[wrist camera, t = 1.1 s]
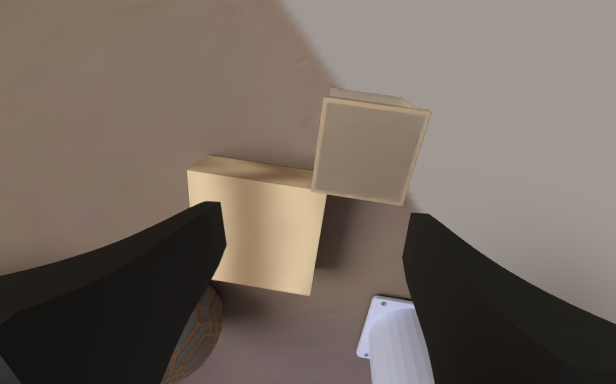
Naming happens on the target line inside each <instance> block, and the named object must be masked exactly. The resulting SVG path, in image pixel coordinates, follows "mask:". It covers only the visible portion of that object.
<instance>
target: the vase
mask: <svg viewBox="0 0 616 384" xmlns="http://www.w3.org/2000/svg"><path fill="white" fill-rule="evenodd" d="M222 325H223V305H222V302H221V300H220V297H219V296H218V294H217V293H216V291H215V290H214V289H213V288H212V287H211V286H210V285H208V286H207V288H206V290H205V291H204V293H203V295H202V297H201V298H200V300H199V302H198V304H197V305H196V307H195V309H194V311H193V312H192V314H191V316H190V318H189V320H188V322H187V323H186V325H185V327H184V330H183V332H182V334H181V336H180V339H179V341H178V343H177V345H176V348H175V350H174V352H173V354H172V357H171V359H170V362H169V364H168V366H167V369H166V371H165V374H164V376H163V379H162V381H161V383H160V384H176V383H178V382H179V381H181V380H183V379H184V378H186V377H188V376H189V375H191V374H192V373H193V372H195V371H196V370H197V369H198V368H199V367H200V366H201V365H202V364H203V363H204V362H205V361H206V359H207V358H208V357H209V355H210V354H211V352H212V351H213V349H214V347H215V345H216V343H217V341H218V338H219V336H220V333H221V330H222Z"/></svg>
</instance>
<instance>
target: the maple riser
mask: <svg viewBox="0 0 616 384" xmlns="http://www.w3.org/2000/svg"><path fill="white" fill-rule="evenodd" d="M187 175H188V188H189V201H190V207H192V206H194V205H197V204H199V203H201V202H204V201H216V202H221V208H222V215H223V222H224V229H225V235H226V242H227V246H226V249H225V251H224V254H223V257H222V259H221V262H220V264H219V266H218V268H217V270H216V272H215V274H214V276H213V277H212V280H218V281H224V282H230V283H236V284H242V285H248V286H254V287H260V288H266V289H272V290H277V291H283V292H289V293H295V294H301V295H307V296H310V292H311V286H312V280H313V274H314V268H315V262H316V256H317V250H318V244H319V238H320V232H321V226H322V220H323V214H324V208H325V202H326V196H327V194H321V193H315V192H311V185H312V178H313V171H310V170H304V169H297V168H290V167H284V166H277V165H271V164H264V163H257V162H251V161H244V160H238V159H231V158H224V157H218V156H211V155H206V156H205V157H203V158H202V159H201V160H200V161H198V162H197V163H196V164H194V165H193V166H192V167H191V168H189V169H188V170H187Z"/></svg>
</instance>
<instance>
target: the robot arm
mask: <svg viewBox="0 0 616 384" xmlns="http://www.w3.org/2000/svg"><path fill="white" fill-rule="evenodd" d="M226 246H227V242H226V235H225V229H224V222H223V215H222V208H221V202H216V201H204V202H201V203H199V204H197V205H194V206H192V207H190V208H188V209H186V210H184V211H182V212H180V213H178V214H176V215H174V216H172V217H170V218H168V219H166V220H164V221H162V222H160V223H158V224H156V225H154V226H152V227H150V228H147V229H145V230H143V231H141V232H139V233H137V234H134V235H132V236H130V237H128V238H125V239H123V240H120V241H118V242H115V243H113V244H110V245H107V246H105V247H102V248H99V249H96V250H93V251H90V252H87V253H84V254H81V255H78V256H74V257H71V258H68V259H65V260H62V261H59V262H55V263H51V264H48V265H44V266H40V267H36V268H33V269H28V270H24V271H20V272H16V273H12V274H7V275H3V276H0V384H160V383H161V381H162V379H163V376H164V374H165V371H166V369H167V366H168V364H169V362H170V359H171V357H172V354H173V352H174V350H175V348H176V345H177V343H178V341H179V339H180V336H181V334H182V332H183V330H184V327H185V325H186V323H187V322H188V320H189V318H190V316H191V314H192V312H193V311H194V309H195V307H196V305H197V304H198V302H199V300H200V298H201V297H202V295H203V293H204V291H205V290H206V288H207V286H208V284H209V283H210V281H211V279H212V277H213V276H214V274H215V272H216V270H217V268H218V266H219V264H220V262H221V259H222V257H223V254H224V251H225V249H226ZM402 258H403V265H404V271H405V277H406V282H407V285H408V288H409V292H410V295H411V298H412V301H407V300H401V299H395V298H390V297H384V296H375V297H373V299H372V302H371V305H370V308H369V311H368V315H367V318H366V321H365V325H364V328H363V331H362V334H361V338H360V341H359V344H358V347H357V355H358V356H359V357H363V358H369V359H370V365H371V376H372V384H616V324H614V323H612V322H609V321H607V320H605V319H602V318H600V317H597V316H595V315H593V314H591V313H589V312H587V311H584V310H582V309H580V308H578V307H576V306H573V305H571V304H569V303H567V302H565V301H563V300H561V299H559V298H557V297H555V296H553V295H551V294H549V293H547V292H545V291H543V290H541V289H540V288H538V287H536V286H534V285H532V284H530V283H529V282H527V281H525V280H523V279H522V278H520V277H518V276H516V275H515V274H513V273H511V272H510V271H508V270H506V269H505V268H503V267H501V266H500V265H498V264H497V263H495V262H494V261H492V260H491V259H489V258H488V257H486V256H485V255H483V254H482V253H480V252H479V251H477V250H476V249H475V248H473V247H472V246H471V245H469V244H468V243H466V242H465V241H464V240H462V239H461V238H460V237H458V236H457V235H456V234H455V233H453V232H452V231H451V230H449V229H448V228H447V227H446V226H444V225H443V224H442V223H440V222H439V221H438V220H436V219H435V218H434V217H432V216H431V215H429V214H423V213H411V215H410V220H409V225H408V231H407V236H406V241H405V246H404V251H403V257H402ZM383 302H385V303H383Z"/></svg>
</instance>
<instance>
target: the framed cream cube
mask: <svg viewBox="0 0 616 384" xmlns="http://www.w3.org/2000/svg"><path fill="white" fill-rule="evenodd" d="M430 115H431V112H430V111H429V110H426V109H419V108H415V107H414V106H412V105H411V104H410V103H409V102H407V101H406V100H405V99H404V98H401V97H394V96H387V95H380V94H372V93H366V92H359V91H351V90H344V89H337V88H331V90H330V94H329V96H327V95H324V99H323V106H322V113H321V120H320V127H319V135H318V142H317V149H316V156H315V163H314V171H313V178H312V185H311V192H315V193H321V194H328V195H334V196H341V197H347V198H354V199H360V200H367V201H373V202H380V203H386V204H392V205H399V206H403V203H404V199H405V196H406V193H407V190H408V186H409V183H410V180H411V177H412V173H413V170H414V167H415V164H416V160H417V157H418V154H419V151H420V148H421V144H422V141H423V138H424V135H425V131H426V128H427V125H428V122H429V118H430Z"/></svg>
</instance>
